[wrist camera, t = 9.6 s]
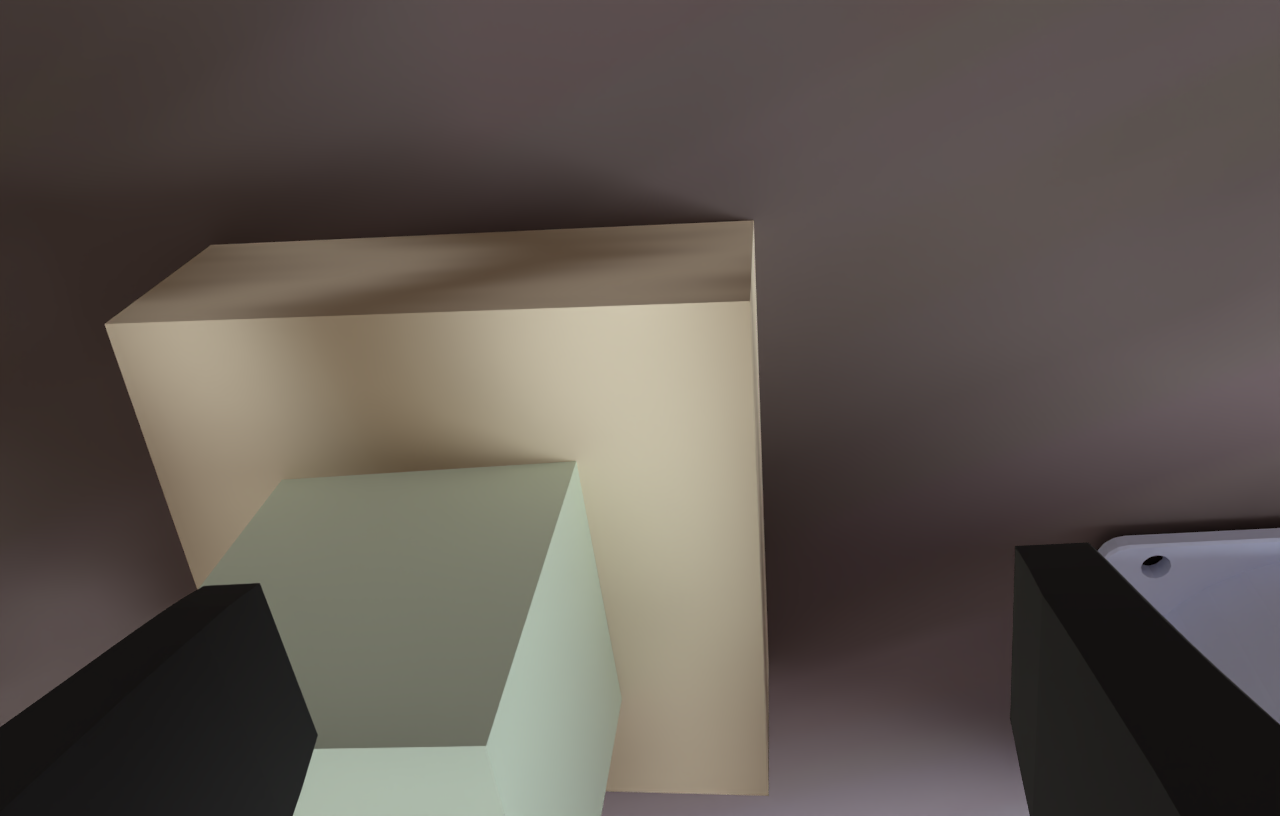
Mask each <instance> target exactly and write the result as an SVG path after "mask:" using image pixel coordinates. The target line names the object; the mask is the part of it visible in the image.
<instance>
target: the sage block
mask: <svg viewBox="0 0 1280 816" xmlns="http://www.w3.org/2000/svg"><path fill="white" fill-rule="evenodd" d="M250 583H260V585H261V587H262V590H263V592H264V595H265V598H266V600H267V603H268V605H269V608H270V611H271V613H272V616H273V619H274V621H275V624H276V626H277V629H278V632H279V634H280V637H281V640H282V642H283V645H284V647H285V650H286V653H287V655H288V658H289V661H290V663H291V666H292V668H293V671H294V674H295V676H296V679H297V682H298V684H299V687H300V689H301V692H302V695H303V697H304V700H305V703H306V705H307V708H308V710H309V713H310V716H311V718H312V721H313V723H314V726H315V729H316V731H317V734H318V737H317V740H316V743H315V747H314V750H313V753H312V757H311V760H310V764H309V767H308V770H307V774H306V777H305V780H304V784H303V787H302V790H301V793H300V796H299V799H298V802H297V805H296V808H295V811H294V814H293V816H601V814H602V808H603V803H604V797H605V791H606V786H607V780H608V774H609V769H610V763H611V757H612V752H613V746H614V740H615V735H616V729H617V724H618V718H619V712H620V707H621V701H622V697H621V692H620V687H619V682H618V676H617V671H616V666H615V661H614V655H613V650H612V645H611V640H610V634H609V629H608V624H607V619H606V613H605V608H604V603H603V598H602V592H601V587H600V582H599V577H598V572H597V566H596V561H595V556H594V551H593V545H592V540H591V535H590V530H589V524H588V519H587V514H586V509H585V504H584V498H583V493H582V488H581V483H580V478H579V472H578V467H577V462H576V461H570V462H554V463H538V464H523V465H507V466H491V467H475V468H459V469H443V470H427V471H411V472H396V473H380V474H364V475H348V476H332V477H316V478H300V479H285V480H281V482H280V483H279V484H278V485H277V487H276V488H275V489H274V491H273V492H272V493H271V495H270V496H269V497H268V499H267V500H266V501H265V502H264V504H263V505H262V506H261V508H260V509H259V510H258V512H257V513H256V514H255V516H254V517H253V518H252V519H251V521H250V522H249V523H248V525H247V526H246V527H245V529H244V530H243V531H242V533H241V534H240V535H239V536H238V538H237V539H236V540H235V542H234V543H233V544H232V546H231V547H230V548H229V550H228V551H227V552H226V553H225V555H224V556H223V557H222V559H221V560H220V561H219V563H218V564H217V565H216V567H215V568H214V569H213V570H212V572H211V573H210V574H209V576H208V577H207V578H206V580H205V581H204V582H203V584H202V585H201V586H200V587H199V588H201V587H203V586H209V585H230V584H250Z"/></svg>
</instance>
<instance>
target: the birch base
mask: <svg viewBox="0 0 1280 816" xmlns="http://www.w3.org/2000/svg"><path fill="white" fill-rule="evenodd" d="M105 327H106V330H107V333H108V336H109V339H110V342H111V344H112V347H113V350H114V353H115V356H116V359H117V362H118V364H119V367H120V370H121V373H122V376H123V379H124V382H125V384H126V387H127V390H128V393H129V396H130V399H131V402H132V404H133V407H134V410H135V413H136V416H137V419H138V422H139V424H140V427H141V430H142V433H143V436H144V439H145V442H146V444H147V447H148V450H149V453H150V456H151V459H152V462H153V464H154V467H155V470H156V473H157V476H158V479H159V482H160V484H161V487H162V490H163V493H164V496H165V499H166V502H167V504H168V507H169V510H170V513H171V516H172V519H173V521H174V524H175V527H176V530H177V533H178V536H179V539H180V541H181V544H182V547H183V550H184V553H185V556H186V559H187V561H188V564H189V567H190V570H191V573H192V576H193V579H194V581H195V584H196V587H197V590H198V589H199V587H200V586H201V585H202V584H203V582H204V581H205V580H206V578H207V577H208V576H209V574H210V573H211V572H212V570H213V569H214V568H215V567H216V565H217V564H218V563H219V561H220V560H221V559H222V557H223V556H224V555H225V553H226V552H227V551H228V550H229V548H230V547H231V546H232V544H233V543H234V542H235V540H236V539H237V538H238V536H239V535H240V534H241V533H242V531H243V530H244V529H245V527H246V526H247V525H248V523H249V522H250V521H251V519H252V518H253V517H254V516H255V514H256V513H257V512H258V510H259V509H260V508H261V506H262V505H263V504H264V502H265V501H266V500H267V499H268V497H269V496H270V495H271V493H272V492H273V491H274V489H275V488H276V487H277V485H278V484H279V483H280V482H281V480H285V479H300V478H316V477H332V476H348V475H364V474H380V473H396V472H411V471H427V470H443V469H459V468H475V467H491V466H507V465H523V464H538V463H554V462H570V461H576V462H577V467H578V472H579V478H580V483H581V488H582V493H583V498H584V504H585V509H586V514H587V519H588V524H589V530H590V535H591V540H592V545H593V551H594V556H595V561H596V566H597V572H598V577H599V582H600V587H601V592H602V598H603V603H604V608H605V613H606V619H607V624H608V629H609V634H610V640H611V645H612V650H613V655H614V661H615V666H616V671H617V676H618V682H619V687H620V692H621V697H622V701H621V707H620V712H619V718H618V724H617V729H616V735H615V740H614V746H613V752H612V757H611V763H610V769H609V774H608V780H607V786H606V791H610V792H647V793H685V794H722V795H760V796H769V656H768V626H767V597H766V568H765V539H764V509H763V480H762V451H761V421H760V392H759V363H758V334H757V304H756V275H755V246H754V220H752V221H730V222H708V223H685V224H663V225H641V226H619V227H597V228H575V229H553V230H531V231H509V232H486V233H464V234H442V235H420V236H398V237H376V238H354V239H332V240H310V241H287V242H265V243H243V244H221V245H210V246H209V247H207V248H206V249H205V250H203V251H202V252H201V253H199V254H198V255H197V256H195V257H194V258H193V259H191V260H190V261H189V262H187V263H186V264H185V265H183V266H182V267H180V268H179V269H178V270H176V271H175V272H174V273H172V274H171V275H170V276H168V277H167V278H166V279H164V280H163V281H162V282H160V283H159V284H158V285H156V286H155V287H154V288H152V289H151V290H150V291H148V292H147V293H145V294H144V295H143V296H141V297H140V298H139V299H137V300H136V301H135V302H133V303H132V304H131V305H129V306H128V307H127V308H125V309H124V310H123V311H121V312H120V313H119V314H117V315H116V316H115V317H113V318H112V319H110V320H109V321H108V322H106V323H105Z"/></svg>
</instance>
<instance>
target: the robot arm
mask: <svg viewBox="0 0 1280 816" xmlns="http://www.w3.org/2000/svg"><path fill="white" fill-rule="evenodd" d="M1156 555H1159V556H1163V558H1162V560H1160V561H1159V562H1158V563H1156V564H1153V565H1149V566H1147V565H1142V564H1143V562H1144V561H1145V560H1146V559H1148V558H1149V557H1152V556H1156ZM1010 720H1011V725H1012V730H1013V735H1014V740H1015V745H1016V750H1017V755H1018V760H1019V766H1020V771H1021V776H1022V780H1023V785H1024V790H1025V795H1026V799H1027V804H1028V809H1029V814H1030V816H1280V528H1270V529H1250V530H1230V531H1210V532H1190V533H1169V534H1149V535H1129V536H1121V537H1116V538H1113V539H1111V540H1109V541H1107V542H1105V543H1104V544H1103V545H1102V546H1101V547H1100V548H1099V550H1098V551H1097V550H1096V549H1095V548H1094V547H1092V546H1091V545H1090V544H1089V543H1071V544H1051V545H1030V546H1015V572H1014V607H1013V642H1012V677H1011V712H1010ZM317 737H318V734H317V731H316V729H315V726H314V723H313V721H312V718H311V716H310V713H309V710H308V708H307V705H306V703H305V700H304V697H303V695H302V692H301V689H300V687H299V684H298V682H297V679H296V676H295V674H294V671H293V668H292V666H291V663H290V661H289V658H288V655H287V653H286V650H285V647H284V645H283V642H282V640H281V637H280V634H279V632H278V629H277V626H276V624H275V621H274V619H273V616H272V613H271V611H270V608H269V605H268V603H267V600H266V598H265V595H264V592H263V590H262V587H261V585H260V583H250V584H230V585H209V586H203V587H201V588H199V589H198V590H196V591H194V592H193V593H191V594H189V595H188V596H186V597H184V598H183V599H181V600H180V601H178V602H177V603H175V604H173V605H172V606H170V607H169V608H167V609H166V610H164V611H163V612H161V613H160V614H158V615H157V616H156V617H154V618H153V619H151V620H150V621H148V622H147V623H145V624H144V625H143V626H141V627H140V628H138V629H137V630H135V631H134V632H133V633H131V634H130V635H128V636H127V637H126V638H124V639H123V640H121V641H120V642H118V643H117V644H116V645H114V646H113V647H111V648H110V649H109V650H107V651H106V652H105V653H103V654H102V655H100V656H99V657H98V658H96V659H95V660H93V661H92V662H91V663H89V664H88V665H86V666H85V667H84V668H82V669H81V670H79V671H78V672H77V673H75V674H74V675H73V676H71V677H70V678H68V679H67V680H66V681H64V682H63V683H61V684H60V685H59V686H57V687H56V688H54V689H53V690H52V691H50V692H49V693H47V694H46V695H45V696H43V697H42V698H40V699H39V700H38V701H36V702H35V703H33V704H32V705H31V706H29V707H28V708H26V709H25V710H24V711H22V712H21V713H19V714H18V715H17V716H15V717H14V718H12V719H11V720H10V721H8V722H7V723H6V724H4V725H3V726H1V727H0V816H293V814H294V811H295V808H296V805H297V802H298V799H299V796H300V793H301V790H302V787H303V784H304V780H305V777H306V774H307V770H308V767H309V764H310V760H311V757H312V753H313V750H314V747H315V743H316V740H317Z"/></svg>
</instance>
